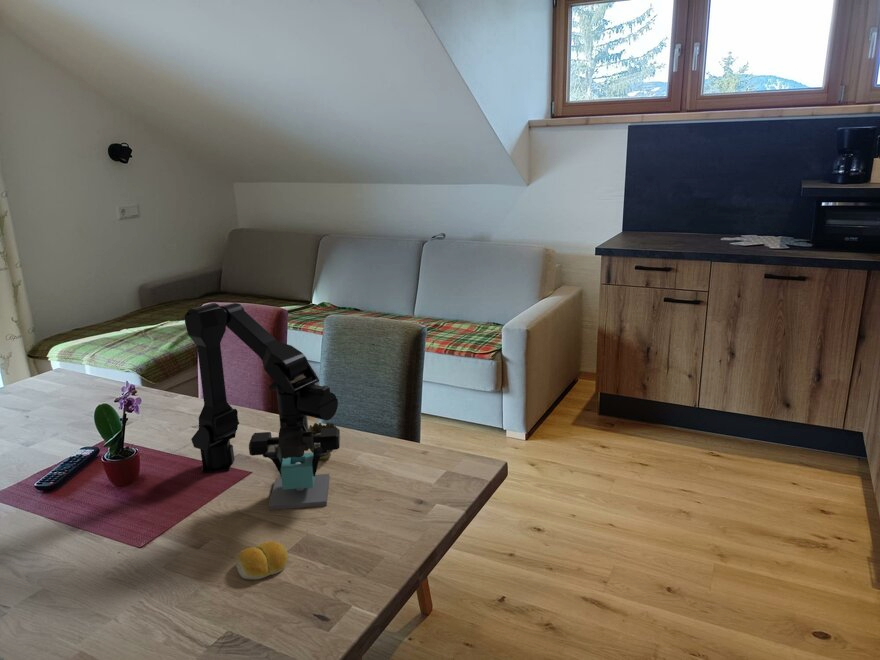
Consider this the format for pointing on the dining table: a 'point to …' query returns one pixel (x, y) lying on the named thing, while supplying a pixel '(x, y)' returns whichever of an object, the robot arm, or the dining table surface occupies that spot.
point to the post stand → (300, 494)
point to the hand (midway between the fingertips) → (298, 476)
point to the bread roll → (262, 560)
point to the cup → (316, 430)
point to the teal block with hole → (297, 472)
